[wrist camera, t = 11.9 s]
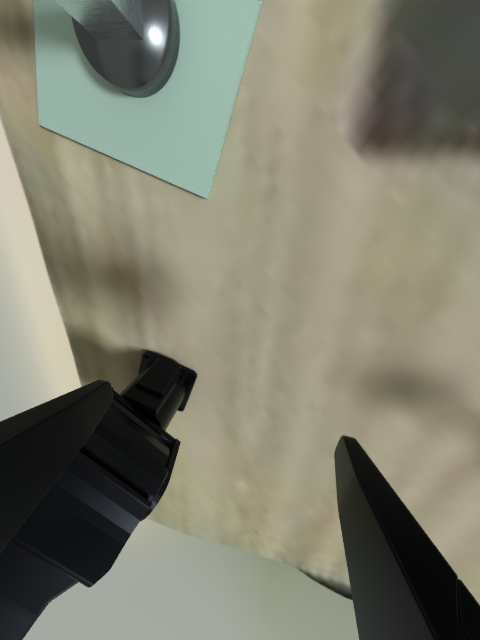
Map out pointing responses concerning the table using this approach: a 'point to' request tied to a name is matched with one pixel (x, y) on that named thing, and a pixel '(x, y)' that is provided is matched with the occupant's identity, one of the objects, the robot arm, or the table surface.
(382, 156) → the table surface
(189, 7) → the rest mat
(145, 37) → the square pillar on disc
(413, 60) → the table surface
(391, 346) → the table surface
